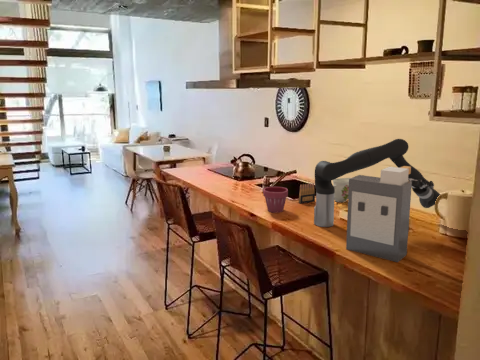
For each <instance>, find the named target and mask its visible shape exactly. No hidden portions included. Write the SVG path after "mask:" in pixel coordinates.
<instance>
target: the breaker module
mask: <svg viewBox="0 0 480 360" xmlns="http://www.w3.org/2000/svg"><path fill="white" fill-rule="evenodd" d="M408 174H411V167H409V166H403V167H400V168H398V167H397V166H396V167H395V166H388V167H385V168H383V169H381V170H380V176H379V178H380V182H383V183H390V184H398V185H400V184H402V183H404V182H406V181H408Z"/></svg>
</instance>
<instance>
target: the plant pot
mask: <svg viewBox="0 0 480 360" xmlns="http://www.w3.org/2000/svg"><path fill="white" fill-rule="evenodd" d="M263 197H264V199H265V200H264V201H265V203H266V208H267V212H269V213H273V214H279V213H282V212H283V211H284V208H285V204H286V202H287V201H286V200H287V197H289V190H288V188H287V187H283V186H267V187H264V188H263Z"/></svg>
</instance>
